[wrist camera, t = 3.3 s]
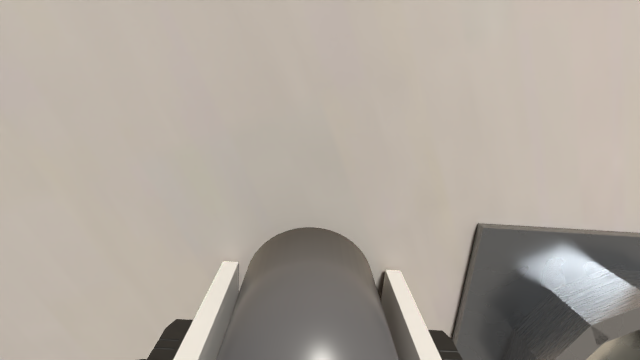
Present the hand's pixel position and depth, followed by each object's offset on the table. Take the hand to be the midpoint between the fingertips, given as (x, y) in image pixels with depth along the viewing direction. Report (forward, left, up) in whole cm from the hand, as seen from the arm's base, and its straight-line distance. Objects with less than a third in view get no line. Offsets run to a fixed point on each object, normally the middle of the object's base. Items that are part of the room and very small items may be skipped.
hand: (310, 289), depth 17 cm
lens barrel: (0, 0, 0) cm, 0 cm away
